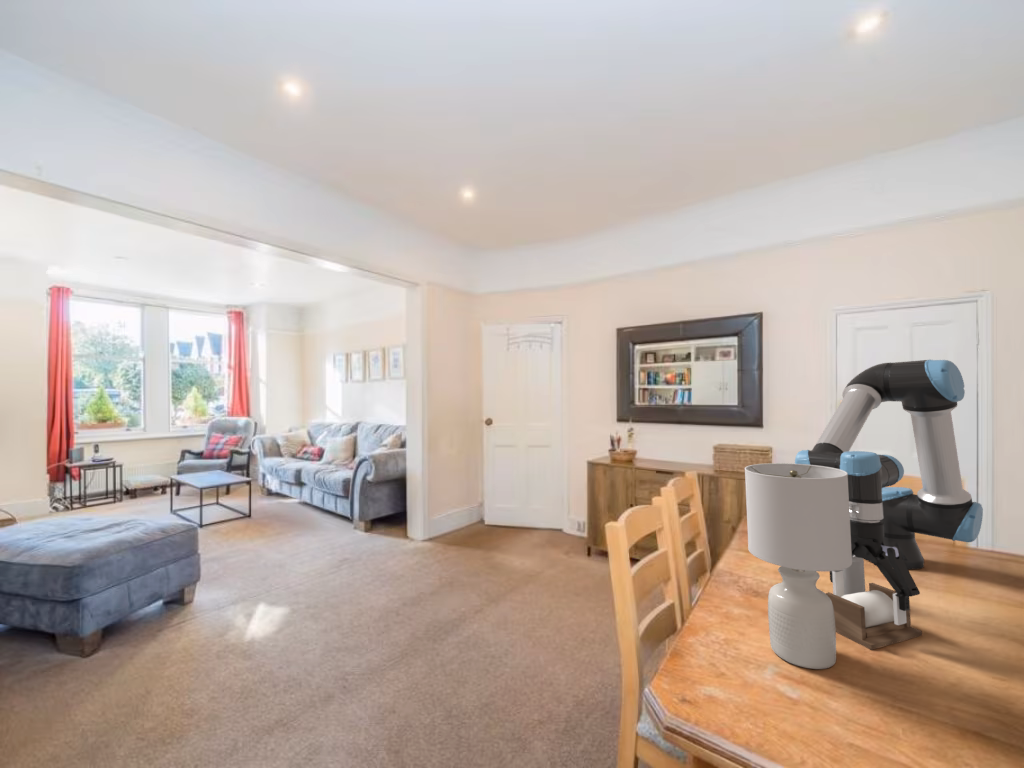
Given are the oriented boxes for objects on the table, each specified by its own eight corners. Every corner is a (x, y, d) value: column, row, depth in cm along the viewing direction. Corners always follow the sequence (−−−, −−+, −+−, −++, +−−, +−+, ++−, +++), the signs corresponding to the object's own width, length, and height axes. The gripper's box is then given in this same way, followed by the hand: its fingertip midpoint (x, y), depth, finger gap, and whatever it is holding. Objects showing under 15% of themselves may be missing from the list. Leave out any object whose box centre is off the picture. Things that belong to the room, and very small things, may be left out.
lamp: (737, 631, 106) (729, 464, 107) (818, 630, 106) (810, 462, 106) (782, 683, 87) (773, 479, 88) (882, 681, 87) (871, 476, 88)
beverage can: (871, 603, 117) (868, 557, 118) (843, 602, 119) (841, 556, 119) (857, 592, 124) (855, 548, 124) (831, 591, 125) (829, 548, 125)
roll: (866, 614, 110) (865, 585, 110) (898, 628, 103) (897, 597, 104) (838, 620, 107) (837, 590, 107) (869, 634, 100) (868, 602, 101)
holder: (866, 611, 113) (864, 579, 114) (921, 635, 102) (919, 599, 102) (818, 623, 109) (816, 589, 109) (871, 649, 97) (869, 612, 97)
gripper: (802, 507, 117) (806, 590, 116) (912, 535, 93) (918, 640, 92) (823, 504, 119) (828, 585, 118) (937, 531, 95) (943, 632, 95)
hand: (867, 609), depth 105 cm, fingers open, 13 cm apart
